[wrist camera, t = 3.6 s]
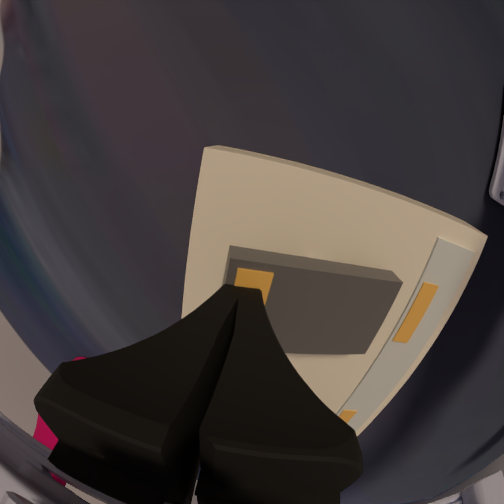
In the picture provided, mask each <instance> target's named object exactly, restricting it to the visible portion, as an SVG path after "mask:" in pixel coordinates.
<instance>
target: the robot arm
mask: <svg viewBox="0 0 504 504" xmlns="http://www.w3.org/2000/svg"><path fill="white" fill-rule="evenodd" d="M500 192H501V196H499V195H500ZM489 195H490V197H491V198H492V199H493V200H495V201H497V202H498V203H500V204H502V205H503V206H504V117H503V124H502V131H501V137H500V143H499V149H498V154H497V158H496V163H495V167H494V172H493V176H492V180H491V183H490V187H489ZM34 404H35V408H36V410H37V412H38V414H39V415H40V417H41V418H42V419H43V421H44V422H45V423H46V425H47V426H48V427H49V428H50V430H51V431H52V432H53V433H54V435H55V436H56V437H57V438H58V442H57V443H56V445H55V447H54V448H53V450H51V449H49V448H48V447H46V446H45V445H43V444H42V443H40V442H39V441H37V440H36V439H35V438H33V437H32V436H30V435H29V434H28V433H26V432H25V431H23V430H22V429H21V428H20V427H18V426H17V425H16V424H14V423H13V422H12V421H11V420H9V419H8V418H7V417H6V416H4V414H2V413H1V412H0V504H90V503H88V502H86V501H85V500H83V499H82V498H80V497H79V496H77V495H76V494H75V493H74V492H72V491H71V490H69V489H68V488H66V487H64V486H63V485H61V484H60V483H58V482H57V481H55V480H54V479H52V475H51V473H52V474H54V475H55V476H57V477H58V478H60V479H62V480H63V481H65V482H67V483H68V484H70V485H72V486H73V487H75V488H77V489H79V490H81V491H82V492H84V493H86V494H88V495H90V496H92V497H94V498H96V499H98V500H100V501H103V502H105V503H107V504H191V501H192V496H193V492H194V487H195V483H196V478H197V474H198V469H199V465H200V467H201V471H200V474H199V478H198V482H197V486H196V490H195V495H196V496H197V501H198V504H340V492H341V491H343V490H344V489H345V488H347V487H348V486H350V485H351V484H352V483H354V482H355V481H356V480H357V479H358V478H359V477H360V476H361V475H362V473H363V460H362V453H361V450H360V446H359V442H358V439H357V436H356V432H355V430H354V429H353V428H352V427H351V426H349V425H348V424H347V423H346V422H345V421H343V420H342V419H341V418H340V417H339V416H338V415H336V414H335V413H334V412H333V411H332V410H330V409H329V408H328V407H327V406H326V405H325V404H324V403H323V402H322V401H321V400H320V399H319V398H318V397H317V396H316V394H315V393H314V392H313V391H312V390H311V388H310V387H309V386H308V385H307V383H306V382H305V381H304V380H303V379H302V377H301V376H300V375H299V374H298V372H297V371H296V369H295V368H294V366H293V365H292V363H291V362H290V360H289V359H288V357H287V355H286V354H285V352H284V350H283V349H282V347H281V345H280V343H279V341H278V339H277V337H276V335H275V333H274V330H273V328H272V326H271V323H270V320H269V318H268V315H267V312H266V309H265V305H264V301H263V296H262V291H261V290H260V289H258V288H248V287H240V286H234V285H231V284H223V285H222V286H221V287H220V288H219V289H218V290H217V291H216V292H215V293H214V294H213V295H212V296H211V297H210V298H208V299H207V300H206V301H205V302H204V303H202V304H201V305H200V306H199V307H197V308H196V309H195V310H194V311H192V312H191V313H189V314H188V315H187V316H185V317H184V318H182V319H181V320H180V321H178V322H176V323H175V324H173V325H172V326H170V327H168V328H167V329H165V330H163V331H161V332H159V333H158V334H156V335H154V336H151V337H149V338H147V339H145V340H142V341H140V342H138V343H135V344H133V345H131V346H128V347H125V348H122V349H119V350H116V351H113V352H110V353H106V354H103V355H99V356H95V357H90V358H85V359H80V360H75V361H70V362H63V363H61V364H60V365H59V366H58V368H57V369H56V370H55V371H54V372H53V374H52V375H51V376H50V377H49V379H48V380H47V382H46V383H45V384H44V385H43V387H42V388H41V389H40V391H39V392H38V393H37V395H36V396H35V398H34ZM50 472H51V473H50ZM428 504H504V477H503V474H502V471H501V470H498V471H496V472H494V473H492V474H490V475H488V476H486V477H484V478H482V479H480V480H478V481H476V482H474V483H473V484H471V485H470V486H468V487H466V488H465V489H463V491H462V492H459V493H457V494H454V495H451V496H449V497H446V498H443V499H440V500H437V501H434V502H431V503H428Z"/></svg>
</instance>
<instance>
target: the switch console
mask: <svg viewBox="0 0 504 504" xmlns="http://www.w3.org/2000/svg"><path fill="white" fill-rule="evenodd" d="M487 237H488V236H487V235H485V234H484V233H482V232H481V231H479V230H478V229H476V228H475V227H473V226H471V225H470V224H468V223H467V222H465V221H463V220H461V219H459V218H456V217H454V216H452V215H450V214H447V213H445V212H443V211H440V210H438V209H436V208H433V207H431V206H428V205H426V204H423V203H421V202H418V201H416V200H413V199H411V198H408V197H405V196H403V195H400V194H397V193H395V192H392V191H389V190H386V189H383V188H381V187H378V186H375V185H372V184H369V183H366V182H363V181H360V180H357V179H353V178H350V177H347V176H344V175H340V174H337V173H334V172H330V171H327V170H323V169H320V168H316V167H313V166H309V165H305V164H301V163H298V162H294V161H290V160H286V159H282V158H277V157H273V156H269V155H264V154H260V153H255V152H251V151H246V150H241V149H236V148H231V147H226V146H220V145H217V146H210V147H204V152H203V157H202V163H201V169H200V175H199V181H198V187H197V193H196V199H195V206H194V213H193V220H192V227H191V234H190V242H189V250H188V258H187V267H186V276H185V286H184V296H183V307H182V318H184V317H185V316H187V315H188V314H189V313H191V312H192V311H194V310H195V309H196V308H197V307H199V306H200V305H201V304H202V303H204V302H205V301H206V300H207V299H208V298H210V297H211V296H212V295H213V294H214V293H215V292H216V291H217V290H218V289H219V288H220V287H221V286H222V283H223V277H224V272H225V267H226V261H227V256H228V251H229V246H230V245H232V246H238V247H245V248H251V249H257V250H264V251H270V252H277V253H283V254H289V255H296V256H302V257H309V258H315V259H321V260H328V261H334V262H340V263H347V264H353V265H359V266H365V267H372V268H378V269H384V270H390V271H393V272H394V273H395V274H396V276H397V277H398V278H399V279H400V280H401V281H402V282H403V284H402V286H401V288H400V291H399V293H398V295H397V297H396V299H395V301H394V303H393V305H392V307H391V309H390V311H389V312H388V314H387V316H386V318H385V320H384V322H383V324H382V326H381V327H380V329H379V331H378V333H377V334H376V336H375V338H374V340H373V341H372V343H371V345H370V347H369V348H368V350H367V352H366V353H365V354H346V355H332V354H293V353H285V354H286V355H287V357H288V359H289V360H290V362H291V363H292V365H293V366H294V368H295V369H296V371H297V372H298V374H299V375H300V376H301V377H302V379H303V380H304V381H305V382H306V383H307V385H308V386H309V387H310V388H311V390H312V391H313V392H314V393H315V394H316V396H317V397H318V398H319V399H320V400H321V401H322V402H323V403H324V404H325V405H326V406H327V407H328V408H329V409H330V410H332V411H333V412H334V413H335V414H336V415H338V416H339V417H340V418H341V419H342V420H343V421H345V422H346V423H347V424H348V425H349V426H351V427H352V428H353V429H354V430H355V432H356V436H358V435H359V434H360V433H361V432H362V431H363V430H364V429H365V428H366V427H367V426H368V425H369V424H370V423H371V422H372V421H373V420H374V418H375V417H376V416H377V415H378V414H379V413H380V412H381V411H382V410H383V408H384V407H385V406H386V405H387V404H388V403H389V402H390V400H391V399H392V398H393V397H394V396H395V394H396V393H397V392H398V391H399V390H400V388H401V387H402V386H403V385H404V383H405V382H406V381H407V379H408V378H409V377H410V376H411V374H412V373H413V372H414V370H415V369H416V367H417V366H418V365H419V363H420V362H421V361H422V359H423V358H424V356H425V355H426V353H427V352H428V350H429V349H430V347H431V346H432V344H433V343H434V341H435V340H436V338H437V337H438V335H439V334H440V332H441V330H442V329H443V327H444V325H445V324H446V322H447V320H448V319H449V317H450V315H451V313H452V312H453V310H454V308H455V306H456V305H457V303H458V301H459V299H460V297H461V295H462V293H463V291H464V289H465V287H466V285H467V283H468V281H469V279H470V277H471V275H472V273H473V271H474V269H475V266H476V264H477V262H478V260H479V257H480V255H481V252H482V250H483V248H484V245H485V243H486V240H487Z"/></svg>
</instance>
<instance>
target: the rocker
mask: <svg viewBox="0 0 504 504" xmlns="http://www.w3.org/2000/svg"><path fill="white" fill-rule="evenodd" d="M223 284H231V285H234V286H240V287H248V288H258V289H260V290H261V291H262V296H263V301H264V305H265V309H266V312H267V315H268V318H269V320H270V323H271V326H272V328H273V330H274V333H275V335H276V337H277V339H278V341H279V343H280V345H281V347H282V349H283V350H284V352H285V353H293V354H332V355H346V354H365V353H366V352H367V350H368V348H369V347H370V345H371V343H372V341H373V340H374V338H375V336H376V334H377V333H378V331H379V329H380V327H381V326H382V324H383V322H384V320H385V318H386V316H387V314H388V312H389V311H390V309H391V307H392V305H393V303H394V301H395V299H396V297H397V295H398V293H399V291H400V288H401V286H402V284H403V282H402V281H401V280H400V279H399V278H398V277H397V276H396V274H395V273H394V272H393V271H390V270H384V269H378V268H372V267H365V266H359V265H353V264H347V263H340V262H334V261H328V260H321V259H315V258H309V257H302V256H296V255H289V254H283V253H277V252H270V251H264V250H257V249H251V248H245V247H238V246H232V245H230V246H229V251H228V256H227V261H226V267H225V272H224V277H223V283H222V285H223Z"/></svg>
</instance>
